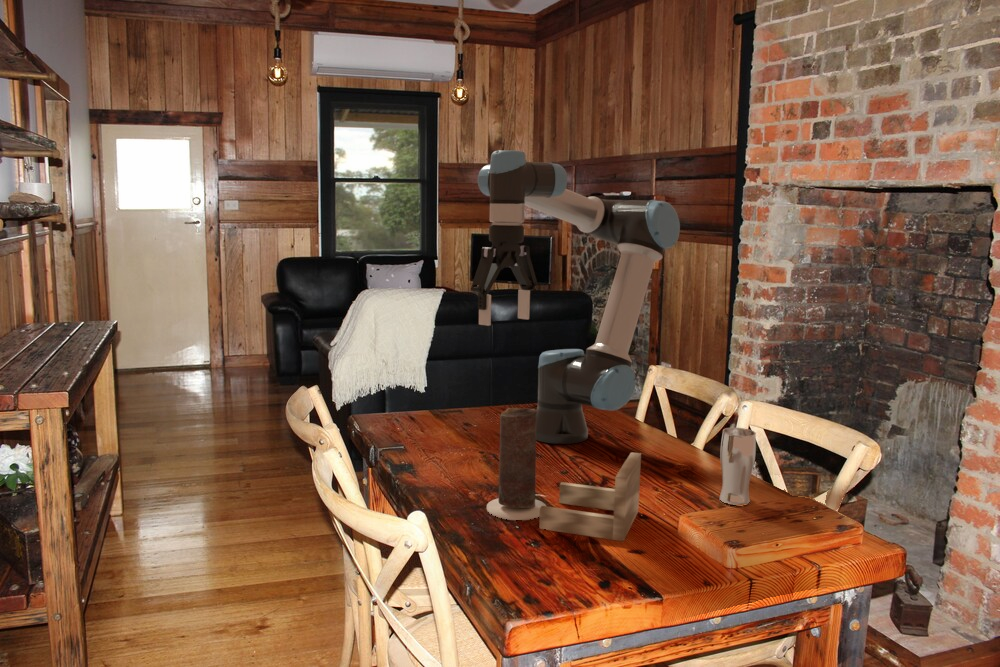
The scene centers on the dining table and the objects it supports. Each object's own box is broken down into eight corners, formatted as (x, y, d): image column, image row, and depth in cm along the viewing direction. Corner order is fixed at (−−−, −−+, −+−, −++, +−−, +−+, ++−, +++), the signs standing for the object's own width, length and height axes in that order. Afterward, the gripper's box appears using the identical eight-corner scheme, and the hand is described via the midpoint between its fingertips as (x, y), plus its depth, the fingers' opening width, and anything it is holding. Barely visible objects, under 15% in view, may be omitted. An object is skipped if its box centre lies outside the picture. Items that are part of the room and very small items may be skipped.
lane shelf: (539, 528, 156) (540, 467, 154) (560, 500, 171) (562, 444, 169) (623, 541, 151) (626, 478, 149) (638, 511, 166) (641, 453, 164)
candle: (522, 516, 161) (525, 416, 158) (490, 508, 165) (492, 410, 161) (541, 504, 167) (544, 408, 164) (510, 497, 171) (512, 403, 168)
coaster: (511, 494, 174) (511, 492, 174) (558, 508, 167) (558, 505, 167) (474, 510, 165) (474, 507, 165) (522, 525, 158) (522, 523, 158)
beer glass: (711, 501, 173) (715, 431, 170) (727, 493, 178) (731, 425, 175) (742, 510, 168) (747, 438, 166) (757, 501, 173) (762, 431, 171)
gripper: (527, 223, 190) (525, 314, 194) (454, 224, 171) (453, 325, 174) (554, 224, 186) (551, 318, 189) (482, 225, 166) (480, 329, 170)
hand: (504, 321), depth 182 cm, fingers open, 13 cm apart
